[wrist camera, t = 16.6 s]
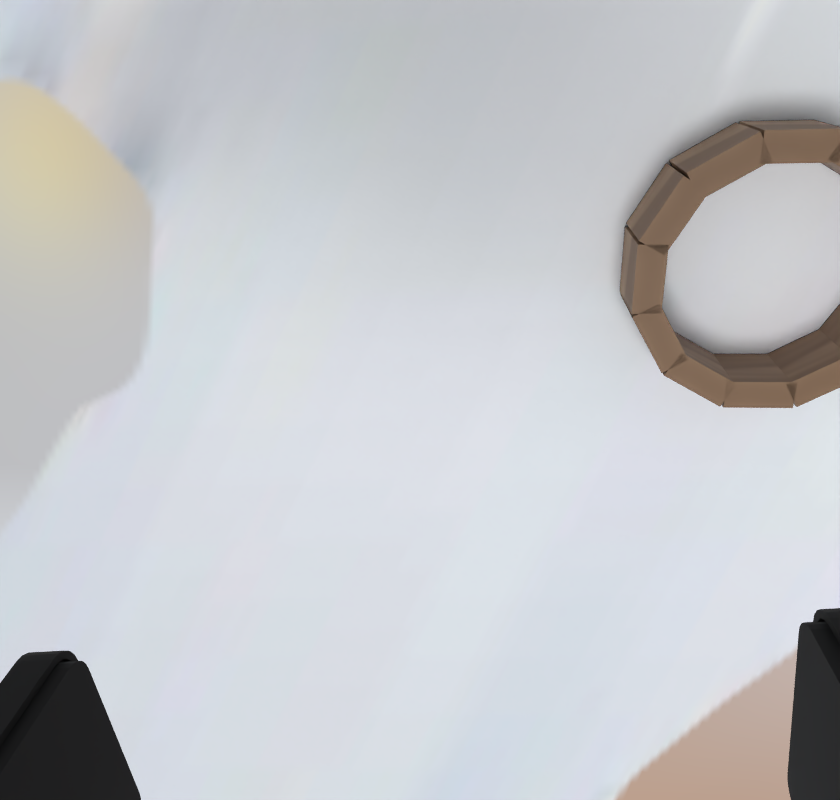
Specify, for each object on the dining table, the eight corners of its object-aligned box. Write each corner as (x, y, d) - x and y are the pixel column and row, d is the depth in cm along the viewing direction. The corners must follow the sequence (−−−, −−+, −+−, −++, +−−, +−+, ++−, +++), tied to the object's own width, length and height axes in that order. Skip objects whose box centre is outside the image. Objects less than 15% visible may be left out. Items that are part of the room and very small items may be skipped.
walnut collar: (633, 123, 40) (647, 132, 37) (923, 117, 39) (967, 126, 35) (612, 377, 46) (623, 406, 43) (863, 378, 45) (896, 408, 41)
